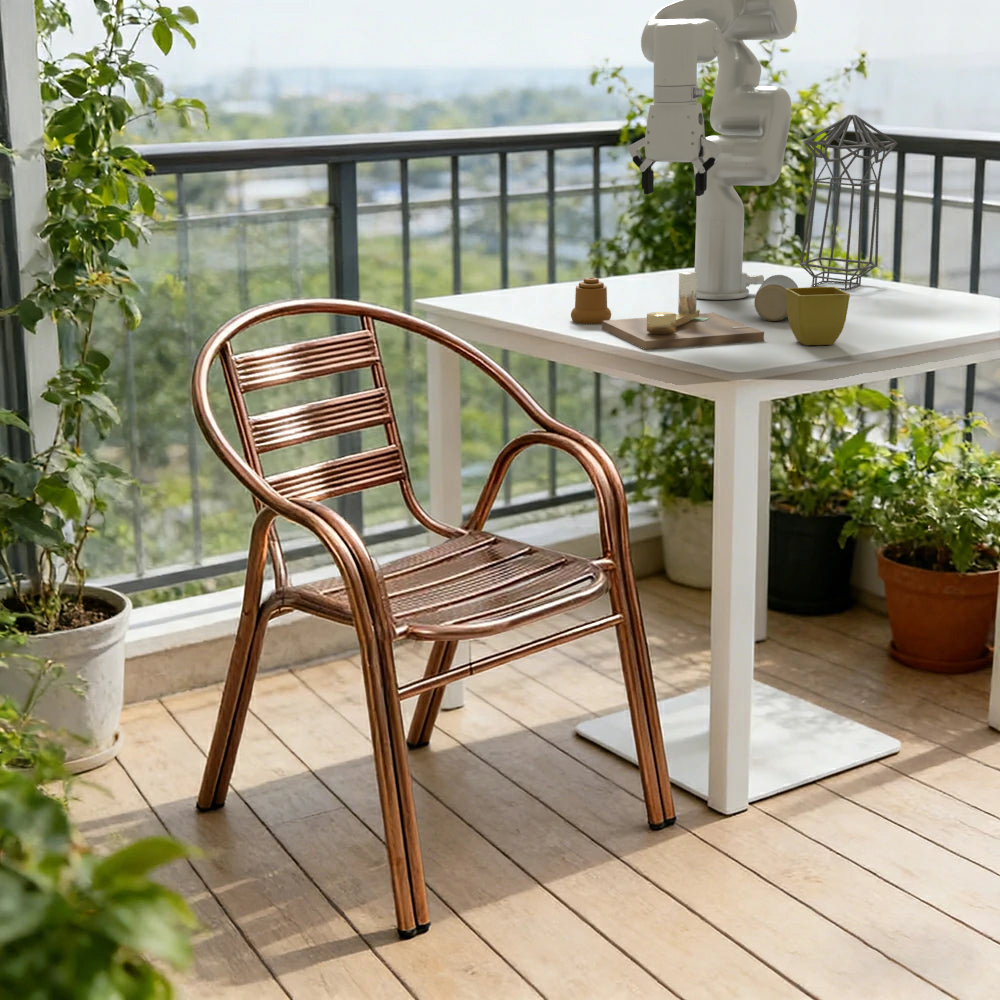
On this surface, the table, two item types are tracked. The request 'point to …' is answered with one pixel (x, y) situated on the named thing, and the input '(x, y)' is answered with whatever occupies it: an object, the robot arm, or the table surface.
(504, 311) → the table surface
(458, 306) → the table surface
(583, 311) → the ornamental finial
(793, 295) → the flower pot
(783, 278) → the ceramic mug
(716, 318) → the brown flat wooden board
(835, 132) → the geometric lantern
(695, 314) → the lever
